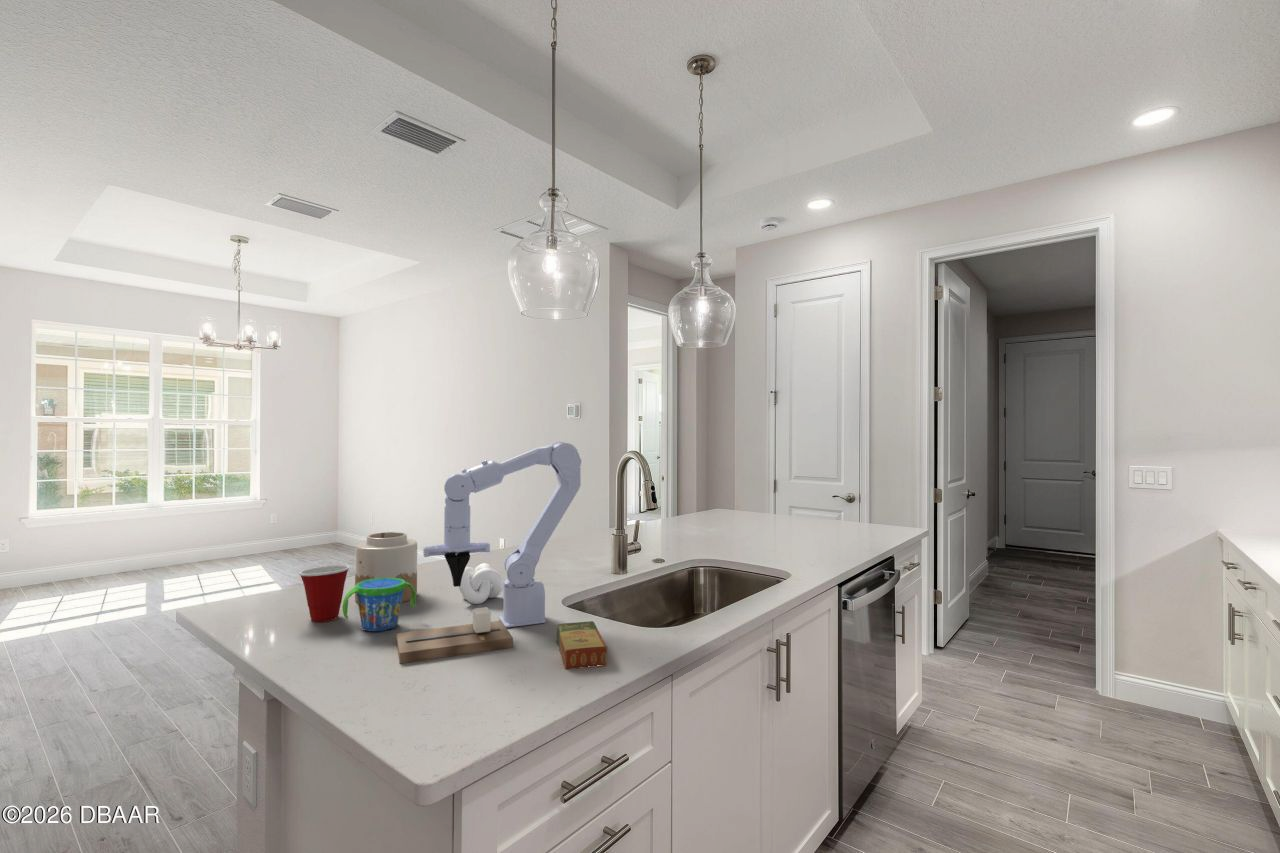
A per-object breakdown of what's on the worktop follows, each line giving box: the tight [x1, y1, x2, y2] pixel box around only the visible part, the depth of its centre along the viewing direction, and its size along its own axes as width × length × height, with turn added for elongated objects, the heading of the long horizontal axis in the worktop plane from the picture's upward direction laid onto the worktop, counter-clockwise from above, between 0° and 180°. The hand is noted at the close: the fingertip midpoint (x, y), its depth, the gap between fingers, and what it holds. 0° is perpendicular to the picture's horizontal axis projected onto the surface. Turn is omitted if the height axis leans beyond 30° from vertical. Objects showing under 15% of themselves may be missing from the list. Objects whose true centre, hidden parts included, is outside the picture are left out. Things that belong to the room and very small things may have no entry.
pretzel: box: [458, 562, 504, 605], centre depth 160 cm, size 11×12×9 cm
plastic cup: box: [298, 564, 350, 623], centre depth 144 cm, size 11×11×12 cm
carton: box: [556, 620, 608, 670], centre depth 124 cm, size 8×16×4 cm, turn 14°
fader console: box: [396, 620, 514, 664], centre depth 127 cm, size 22×12×2 cm, turn 114°
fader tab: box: [472, 606, 492, 633], centre depth 129 cm, size 3×4×4 cm
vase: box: [354, 531, 418, 604], centre depth 161 cm, size 15×15×17 cm
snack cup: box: [342, 578, 417, 632], centre depth 138 cm, size 16×10×10 cm
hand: (456, 585), depth 139 cm, fingers closed
